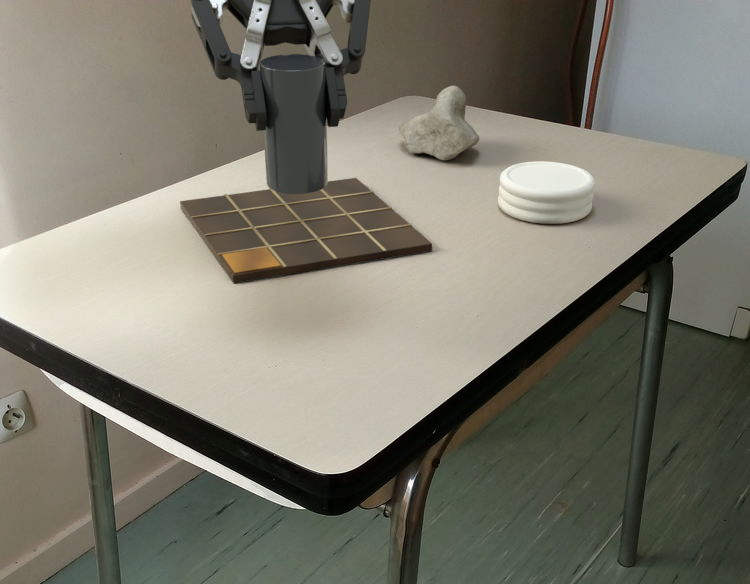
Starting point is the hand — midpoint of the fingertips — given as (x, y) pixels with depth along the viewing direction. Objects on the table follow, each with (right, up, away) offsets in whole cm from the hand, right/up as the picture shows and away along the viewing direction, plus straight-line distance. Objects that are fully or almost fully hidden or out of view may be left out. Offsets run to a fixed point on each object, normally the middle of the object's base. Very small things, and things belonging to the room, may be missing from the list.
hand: (298, 122), depth 75 cm
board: (-2, 0, +28) cm, 28 cm away
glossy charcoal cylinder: (0, -3, +5) cm, 5 cm away
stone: (+12, +13, +46) cm, 50 cm away
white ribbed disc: (+24, +3, +33) cm, 41 cm away
